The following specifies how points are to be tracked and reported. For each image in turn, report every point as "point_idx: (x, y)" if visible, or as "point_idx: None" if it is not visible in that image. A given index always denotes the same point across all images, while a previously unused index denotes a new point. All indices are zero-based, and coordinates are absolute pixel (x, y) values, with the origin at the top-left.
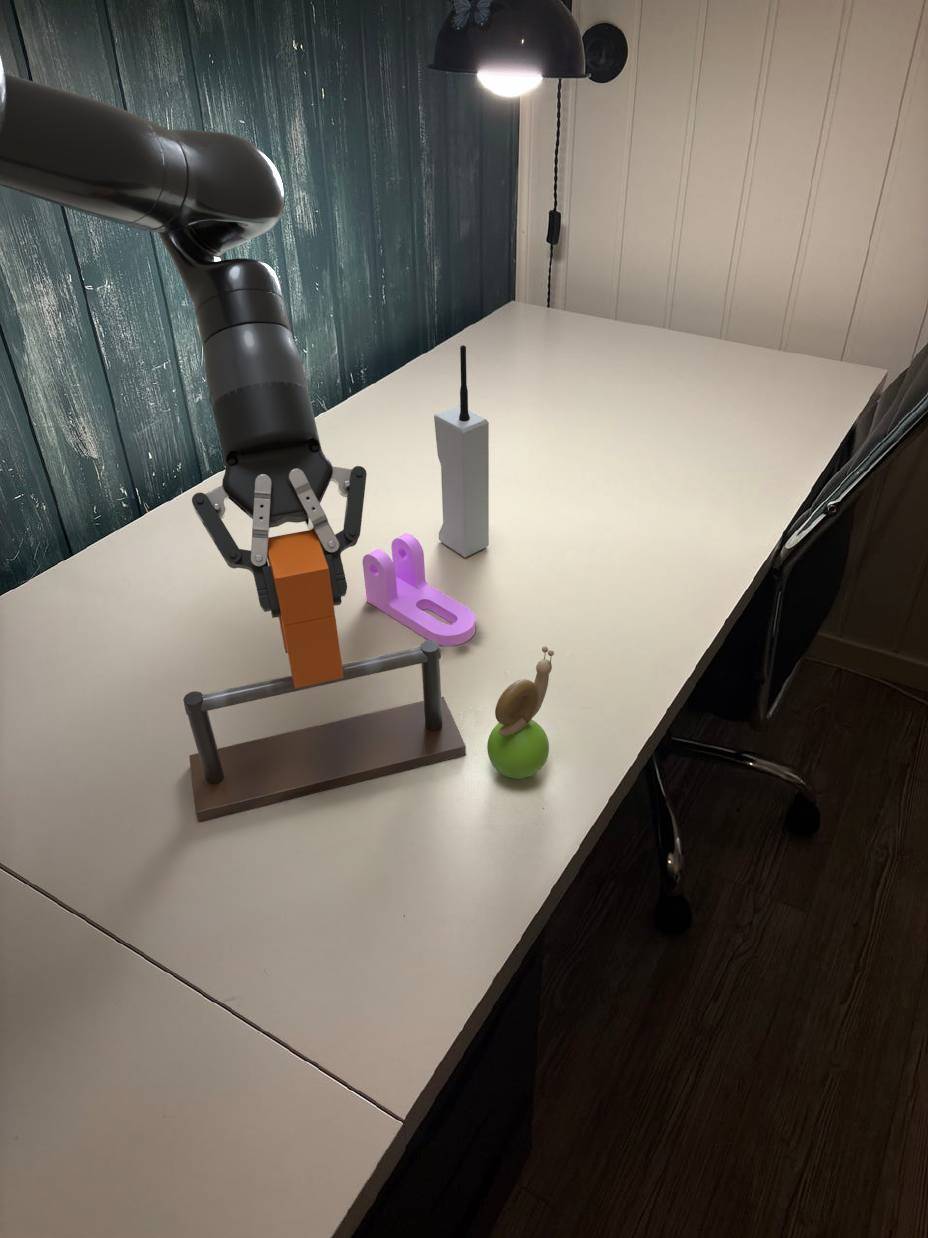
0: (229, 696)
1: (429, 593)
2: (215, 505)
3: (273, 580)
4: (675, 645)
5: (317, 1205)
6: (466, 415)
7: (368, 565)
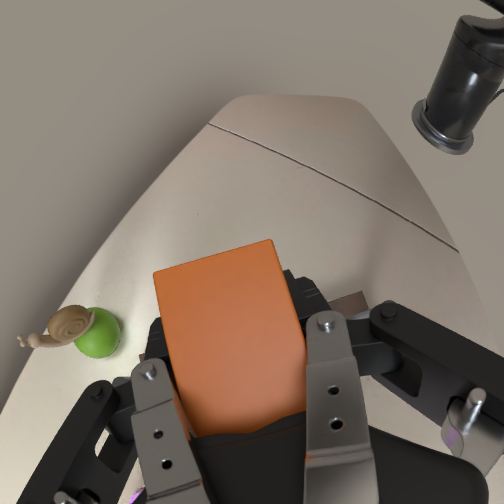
0: (351, 318)
1: None
2: (482, 396)
3: None
4: (7, 432)
5: (242, 99)
6: None
7: None
